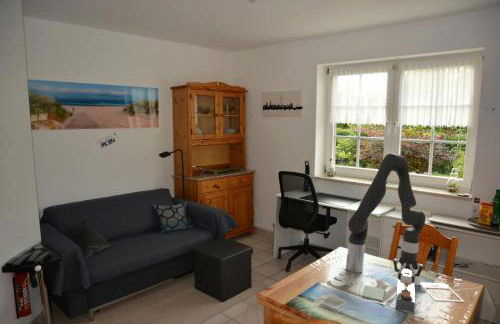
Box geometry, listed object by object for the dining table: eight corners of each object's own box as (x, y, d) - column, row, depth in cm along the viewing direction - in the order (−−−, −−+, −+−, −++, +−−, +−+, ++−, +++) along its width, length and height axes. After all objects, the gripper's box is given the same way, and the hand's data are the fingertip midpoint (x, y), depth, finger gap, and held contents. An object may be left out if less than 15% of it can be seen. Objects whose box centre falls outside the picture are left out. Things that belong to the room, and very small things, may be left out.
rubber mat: (361, 296, 176) (362, 295, 176) (364, 286, 187) (364, 284, 187) (382, 301, 172) (382, 300, 172) (384, 290, 183) (384, 289, 183)
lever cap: (411, 285, 170) (412, 276, 169) (400, 282, 172) (401, 273, 171) (411, 278, 177) (412, 269, 176) (400, 275, 179) (401, 267, 178)
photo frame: (445, 283, 192) (464, 300, 174) (445, 285, 192) (464, 303, 174) (419, 282, 192) (434, 299, 175) (418, 283, 193) (434, 301, 175)
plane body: (413, 312, 164) (416, 286, 162) (395, 308, 167) (398, 282, 165) (413, 291, 183) (416, 268, 181) (397, 287, 187) (399, 265, 185)
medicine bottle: (415, 279, 197) (417, 259, 195) (420, 285, 190) (422, 265, 188) (402, 278, 198) (404, 258, 196) (407, 284, 191) (409, 264, 189)
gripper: (393, 249, 172) (390, 280, 174) (425, 255, 166) (421, 288, 168) (394, 244, 178) (391, 274, 181) (425, 249, 172) (421, 281, 175)
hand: (405, 281), depth 175 cm, fingers closed on lever cap, 5 cm apart
